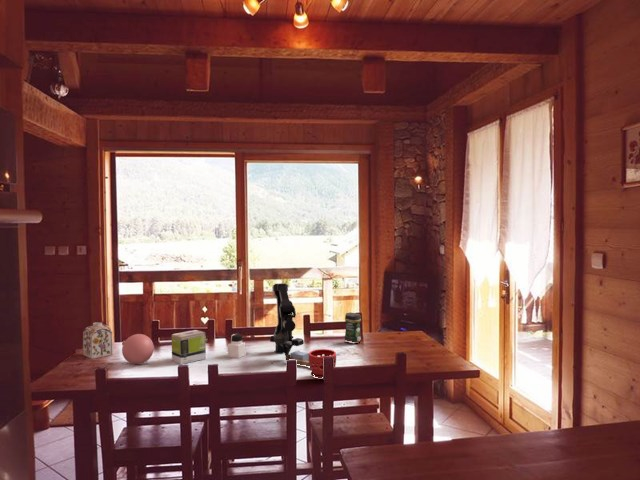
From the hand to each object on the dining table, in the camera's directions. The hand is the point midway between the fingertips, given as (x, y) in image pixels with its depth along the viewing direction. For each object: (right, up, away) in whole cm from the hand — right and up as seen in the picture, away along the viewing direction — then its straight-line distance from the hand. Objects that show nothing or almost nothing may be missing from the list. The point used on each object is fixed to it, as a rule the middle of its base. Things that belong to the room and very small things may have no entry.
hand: (286, 356), depth 258 cm
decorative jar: (-105, -2, +7) cm, 105 cm away
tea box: (-52, -2, -1) cm, 52 cm away
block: (+7, -2, -5) cm, 9 cm away
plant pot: (+19, -3, -29) cm, 35 cm away
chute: (+11, -2, -7) cm, 13 cm away
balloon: (-78, -2, -7) cm, 79 cm away
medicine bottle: (-28, -2, +7) cm, 29 cm away
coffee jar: (+38, -1, +39) cm, 54 cm away
